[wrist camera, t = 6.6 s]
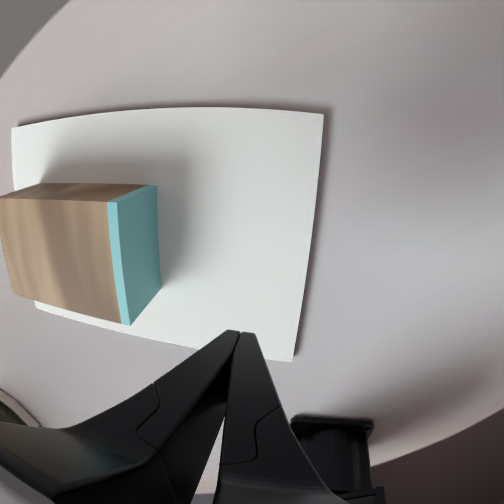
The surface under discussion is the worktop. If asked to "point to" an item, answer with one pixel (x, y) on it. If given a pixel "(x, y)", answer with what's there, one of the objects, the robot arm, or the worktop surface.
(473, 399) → the worktop surface
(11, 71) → the worktop surface
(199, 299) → the white mat
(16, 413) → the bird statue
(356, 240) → the worktop surface
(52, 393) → the worktop surface
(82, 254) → the wooden block
